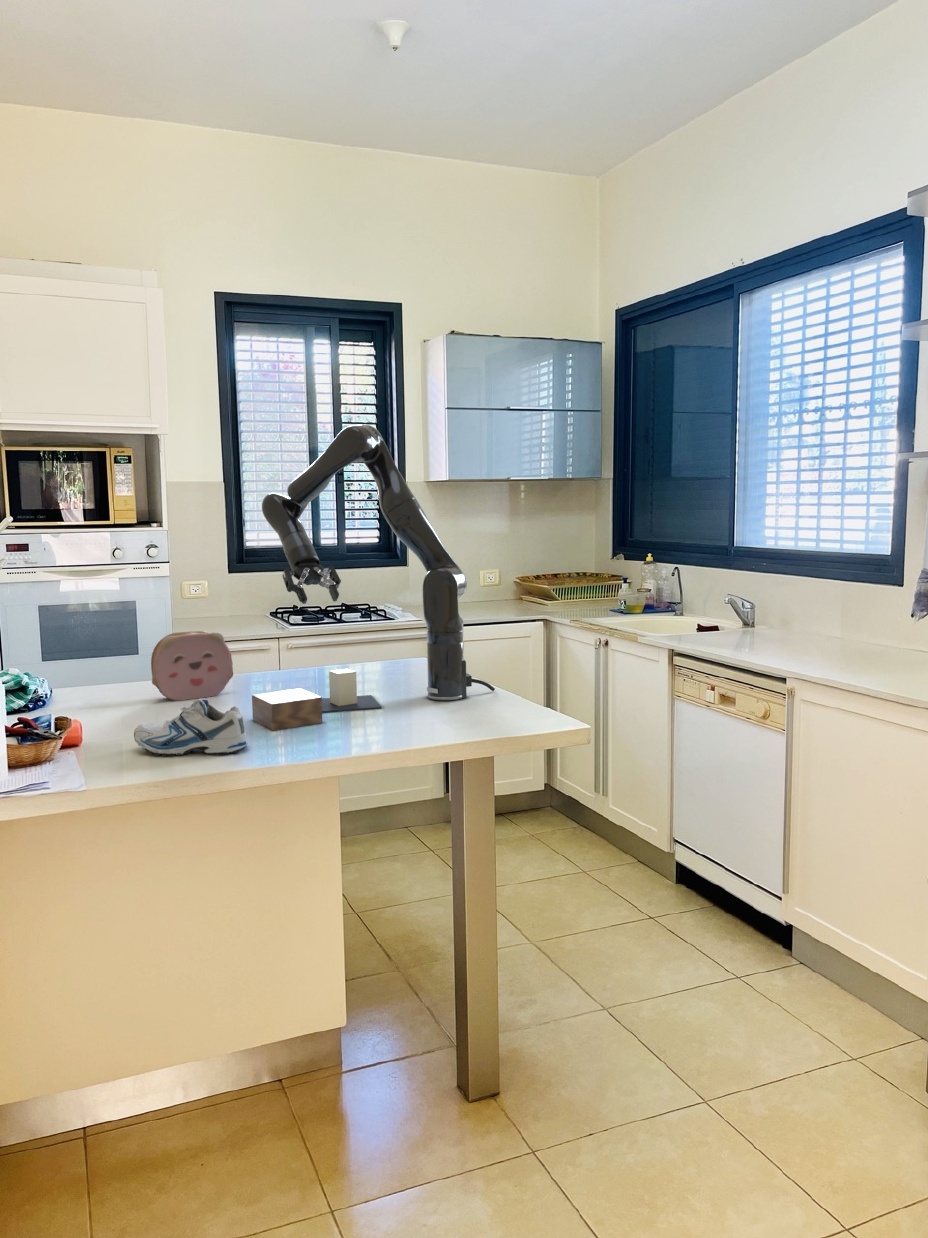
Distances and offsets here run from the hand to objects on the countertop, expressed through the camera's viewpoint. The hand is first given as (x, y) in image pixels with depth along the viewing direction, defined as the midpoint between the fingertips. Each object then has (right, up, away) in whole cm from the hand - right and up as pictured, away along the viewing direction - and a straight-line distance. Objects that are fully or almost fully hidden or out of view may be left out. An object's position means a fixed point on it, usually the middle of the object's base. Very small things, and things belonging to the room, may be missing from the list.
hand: (320, 600), depth 236 cm
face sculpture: (-34, -25, +5) cm, 42 cm away
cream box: (+7, -25, -6) cm, 27 cm away
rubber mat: (+7, -26, -6) cm, 27 cm away
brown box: (-4, -28, -22) cm, 36 cm away
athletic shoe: (-20, -32, -45) cm, 59 cm away
